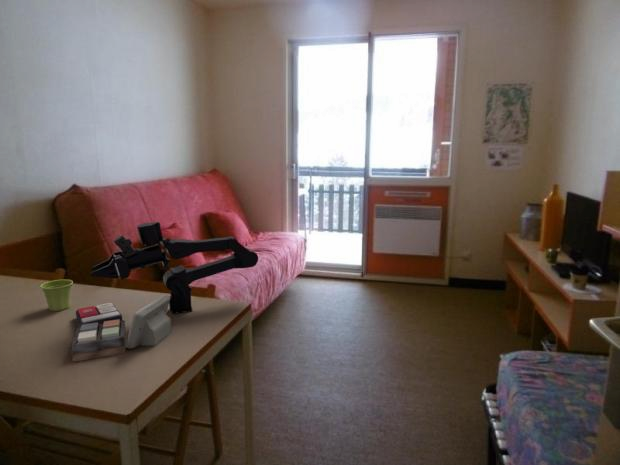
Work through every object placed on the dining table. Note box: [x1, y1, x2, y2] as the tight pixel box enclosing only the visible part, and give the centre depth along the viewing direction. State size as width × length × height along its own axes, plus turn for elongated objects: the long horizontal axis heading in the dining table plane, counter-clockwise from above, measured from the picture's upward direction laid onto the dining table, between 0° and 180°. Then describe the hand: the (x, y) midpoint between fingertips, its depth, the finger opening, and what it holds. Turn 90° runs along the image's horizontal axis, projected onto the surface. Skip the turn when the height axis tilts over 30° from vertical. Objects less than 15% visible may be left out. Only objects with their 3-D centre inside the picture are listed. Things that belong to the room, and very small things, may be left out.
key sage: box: [102, 327, 120, 339], centre depth 108 cm, size 4×4×2 cm
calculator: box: [75, 302, 123, 327], centre depth 126 cm, size 11×4×15 cm
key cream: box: [78, 330, 97, 343], centre depth 106 cm, size 4×4×2 cm
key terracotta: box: [103, 319, 120, 329], centre depth 113 cm, size 4×4×2 cm
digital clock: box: [125, 294, 172, 350], centre depth 114 cm, size 16×9×11 cm, turn 158°
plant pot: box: [40, 279, 74, 312], centre depth 137 cm, size 9×9×9 cm
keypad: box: [71, 319, 127, 362], centre depth 110 cm, size 12×14×4 cm
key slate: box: [80, 322, 99, 332], centre depth 111 cm, size 4×4×2 cm
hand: (91, 272), depth 121 cm, fingers open, 9 cm apart
